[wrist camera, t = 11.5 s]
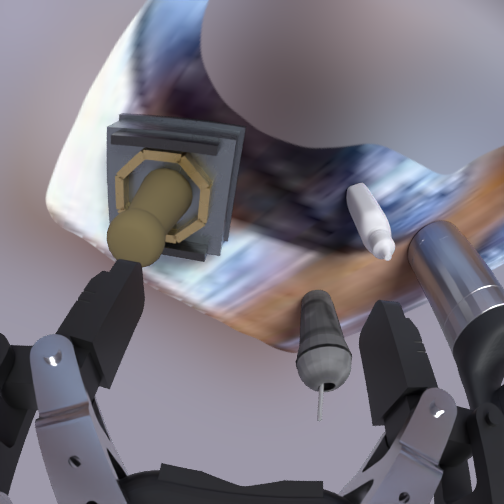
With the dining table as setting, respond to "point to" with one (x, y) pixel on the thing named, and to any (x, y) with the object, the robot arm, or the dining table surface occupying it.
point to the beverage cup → (321, 346)
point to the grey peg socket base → (186, 163)
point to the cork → (150, 217)
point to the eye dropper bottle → (370, 221)
